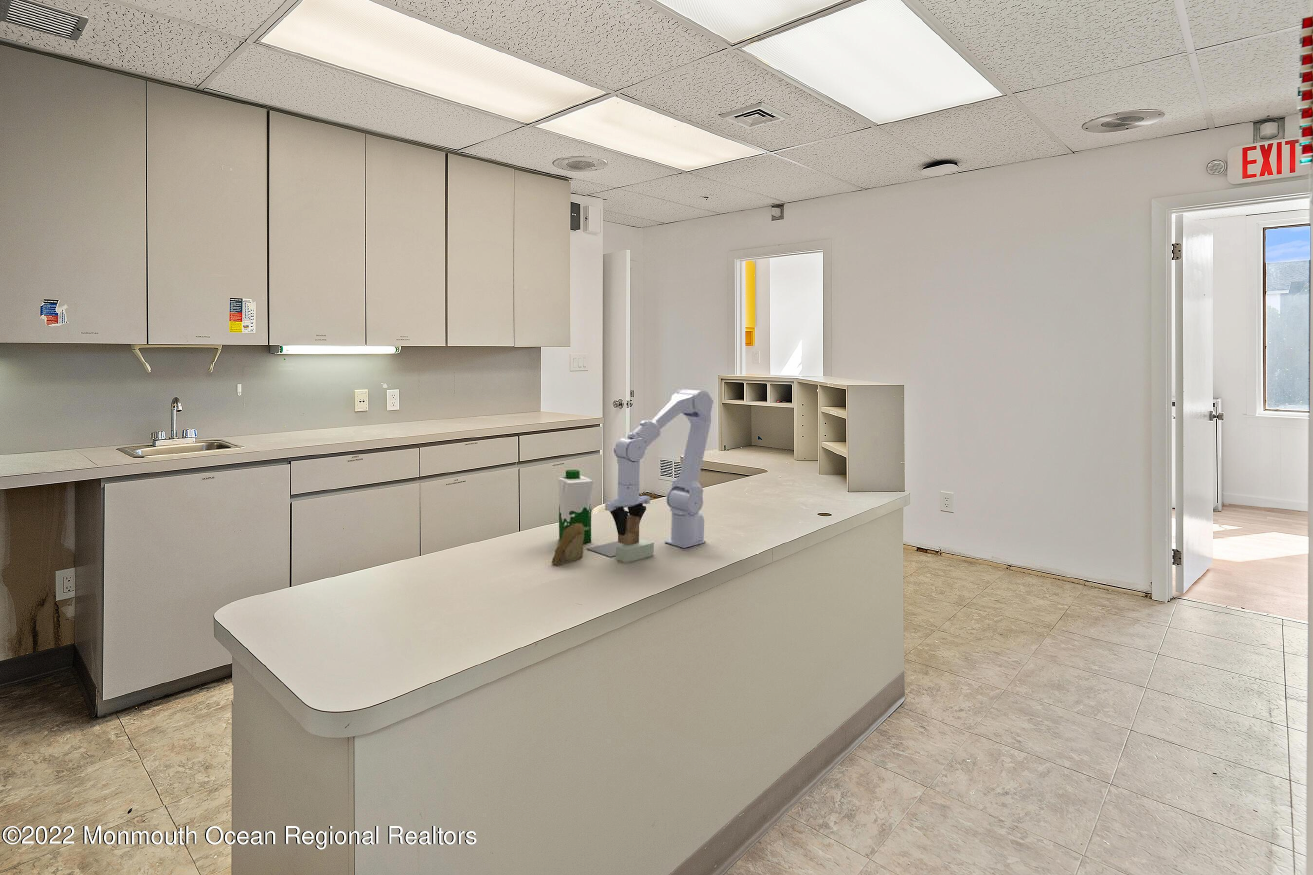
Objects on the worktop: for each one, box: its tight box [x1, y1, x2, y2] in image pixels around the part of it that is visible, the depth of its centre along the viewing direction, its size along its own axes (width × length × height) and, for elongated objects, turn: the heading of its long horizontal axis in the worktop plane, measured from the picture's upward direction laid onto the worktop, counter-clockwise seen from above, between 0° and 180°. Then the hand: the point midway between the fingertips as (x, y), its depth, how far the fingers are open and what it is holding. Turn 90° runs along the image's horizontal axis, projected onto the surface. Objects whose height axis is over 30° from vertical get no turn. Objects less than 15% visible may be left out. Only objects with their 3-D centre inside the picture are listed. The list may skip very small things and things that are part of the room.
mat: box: [586, 540, 624, 558], centre depth 189 cm, size 11×10×1 cm
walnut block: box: [617, 514, 640, 545], centre depth 183 cm, size 4×4×7 cm
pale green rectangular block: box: [615, 539, 655, 564], centre depth 182 cm, size 10×4×4 cm, turn 135°
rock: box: [550, 523, 584, 566], centre depth 178 cm, size 11×9×10 cm
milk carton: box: [557, 469, 594, 544], centre depth 196 cm, size 9×9×20 cm
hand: (627, 533), depth 184 cm, fingers closed on walnut block, 4 cm apart
